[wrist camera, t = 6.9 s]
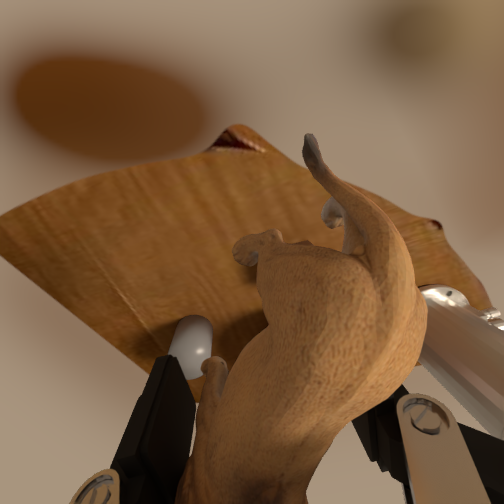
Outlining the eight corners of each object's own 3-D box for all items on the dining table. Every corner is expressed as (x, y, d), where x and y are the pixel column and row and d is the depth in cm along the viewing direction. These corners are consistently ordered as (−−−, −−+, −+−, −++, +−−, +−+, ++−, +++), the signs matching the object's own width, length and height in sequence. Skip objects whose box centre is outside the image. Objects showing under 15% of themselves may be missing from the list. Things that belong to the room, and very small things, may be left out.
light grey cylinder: (207, 311, 34) (203, 339, 28) (217, 340, 35) (215, 373, 30) (171, 319, 34) (159, 350, 28) (182, 349, 35) (174, 383, 30)
